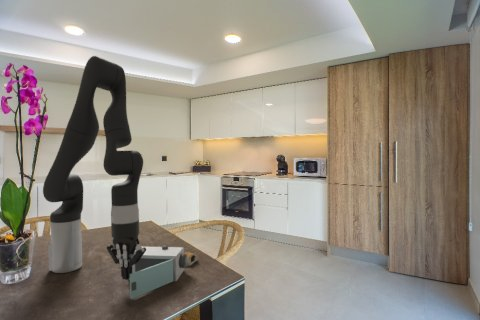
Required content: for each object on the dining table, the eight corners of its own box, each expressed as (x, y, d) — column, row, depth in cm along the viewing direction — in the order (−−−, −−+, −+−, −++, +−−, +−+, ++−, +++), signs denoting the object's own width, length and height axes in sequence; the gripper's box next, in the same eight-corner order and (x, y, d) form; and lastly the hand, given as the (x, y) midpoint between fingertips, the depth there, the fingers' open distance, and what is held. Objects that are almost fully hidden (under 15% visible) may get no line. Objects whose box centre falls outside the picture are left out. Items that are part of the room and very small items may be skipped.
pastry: (167, 263, 105) (167, 253, 105) (178, 257, 111) (178, 247, 111) (189, 267, 101) (188, 256, 101) (199, 261, 107) (199, 250, 107)
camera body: (127, 279, 92) (127, 252, 91) (139, 269, 100) (138, 244, 99) (182, 281, 90) (181, 253, 90) (189, 270, 98) (188, 245, 98)
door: (132, 299, 78) (131, 274, 78) (129, 298, 79) (129, 273, 78) (176, 280, 89) (176, 258, 89) (174, 279, 90) (173, 257, 90)
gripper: (152, 218, 84) (153, 276, 85) (117, 215, 89) (118, 270, 89) (134, 224, 77) (136, 287, 78) (97, 220, 82) (99, 280, 82)
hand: (126, 278), depth 83 cm, fingers closed
